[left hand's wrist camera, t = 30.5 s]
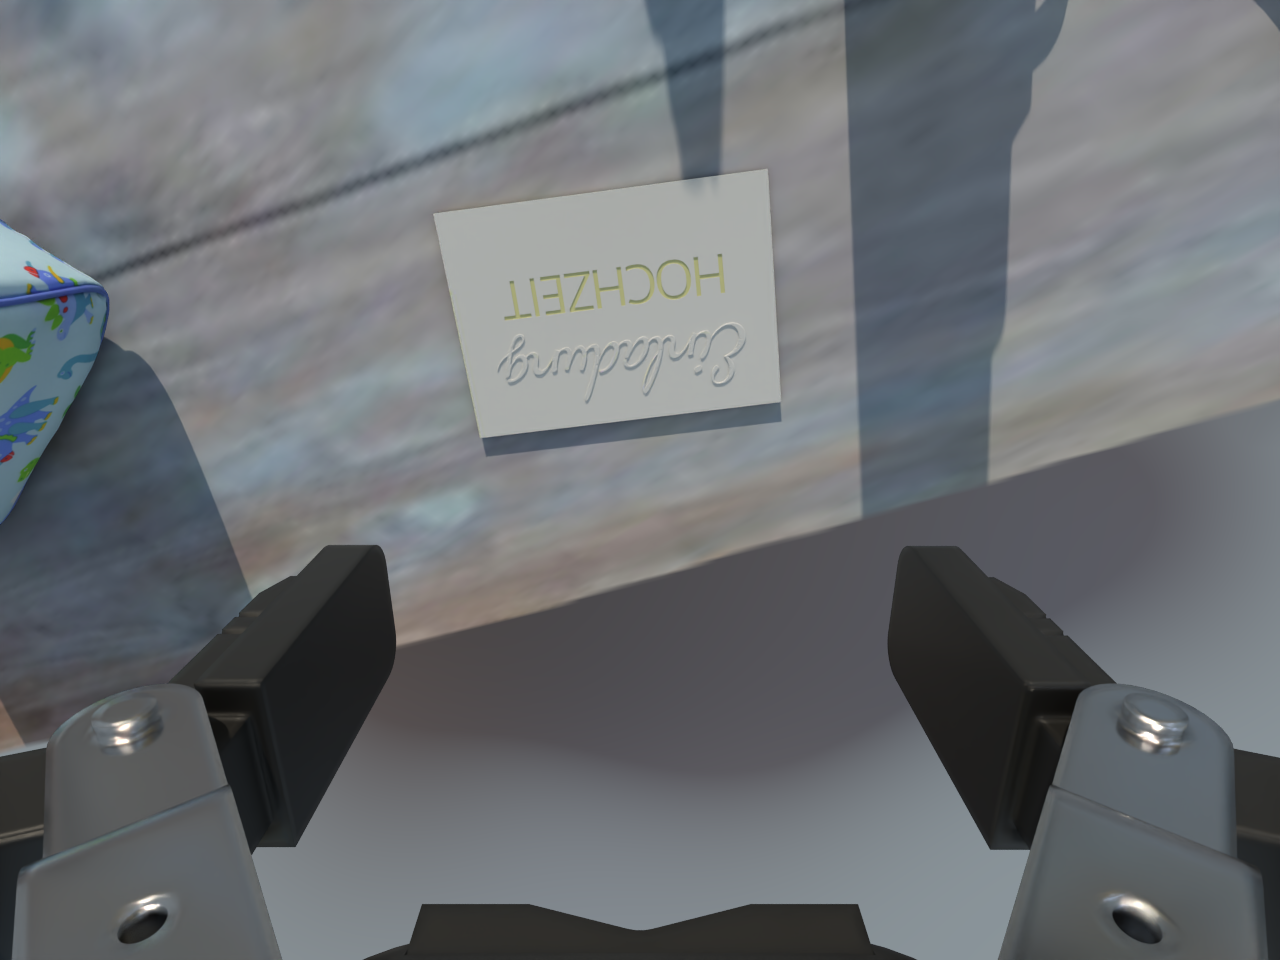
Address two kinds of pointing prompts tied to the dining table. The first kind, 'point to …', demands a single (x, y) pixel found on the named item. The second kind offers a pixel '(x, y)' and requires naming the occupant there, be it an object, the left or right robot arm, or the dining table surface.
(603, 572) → the dining table surface
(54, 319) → the lunch box
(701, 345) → the invitation card
